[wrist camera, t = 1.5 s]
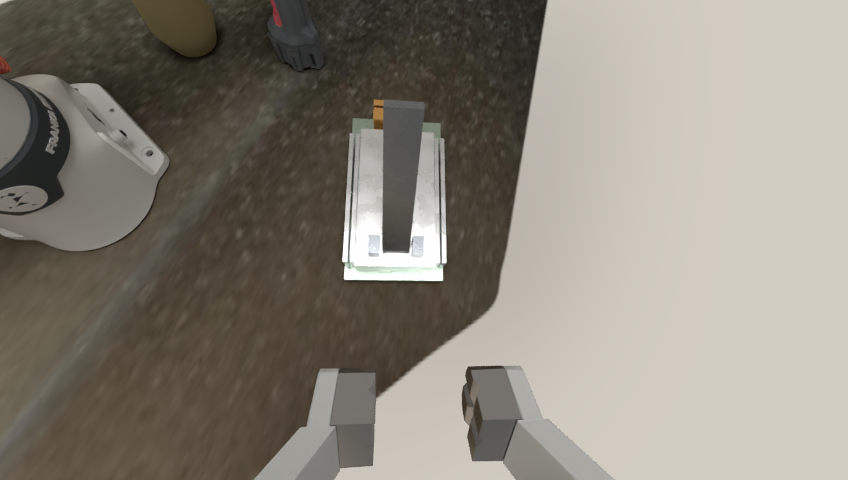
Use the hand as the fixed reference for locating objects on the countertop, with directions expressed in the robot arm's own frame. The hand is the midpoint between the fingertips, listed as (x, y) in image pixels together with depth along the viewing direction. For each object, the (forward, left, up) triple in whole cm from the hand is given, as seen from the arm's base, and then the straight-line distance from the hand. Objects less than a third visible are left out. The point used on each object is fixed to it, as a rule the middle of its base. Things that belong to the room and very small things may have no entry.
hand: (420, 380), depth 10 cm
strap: (-12, +8, -20) cm, 25 cm away
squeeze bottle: (-50, -1, -34) cm, 60 cm away
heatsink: (-15, +10, -33) cm, 38 cm away
